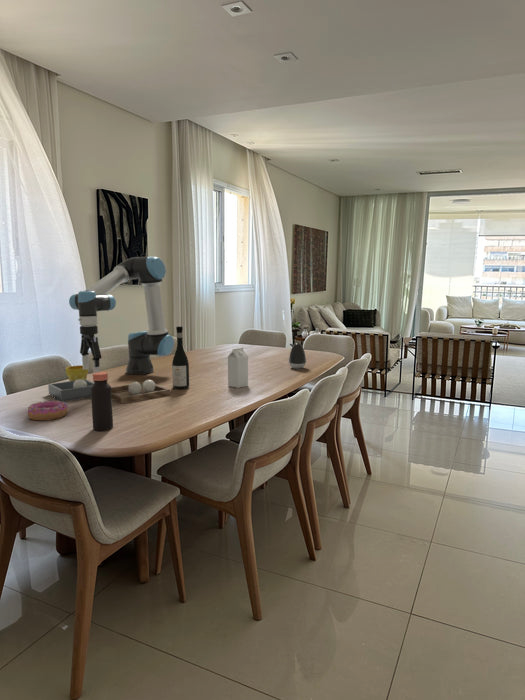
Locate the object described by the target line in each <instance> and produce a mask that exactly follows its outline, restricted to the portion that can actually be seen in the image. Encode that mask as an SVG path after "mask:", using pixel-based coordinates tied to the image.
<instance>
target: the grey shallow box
mask: <svg viewBox="0 0 525 700" xmlns="http://www.w3.org/2000/svg"><path fill="white" fill-rule="evenodd" d="M82 380H84V381H85V382H86V383H87V386H86V387H79V388H73V384H74V382H75V381H76V380H75V381H69V380H68V381H62V382H60V381H59V382H53V383H48V384H47V385H48V386H47V387H48V395H49V394H50V395H51V397H52V396H53V397H52V398H54V397H55V398H54V399H56V400H57V399H58V400H57V401H63V402H69V401H75V400H81V399H82V398H83V399H88V397H89V398H91V387H92V386H93V385H94V381H91V380H89V379H82ZM50 395H49V396H50Z"/></svg>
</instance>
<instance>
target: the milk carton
mask: <svg viewBox="0 0 525 700" xmlns="http://www.w3.org/2000/svg"><path fill="white" fill-rule="evenodd" d="M231 350H232V351H231V352H230V353H229V354H228V355H227V386H228V387H232V388H237V389H239V388H243V387H244V388H245V387H248V386H249V356H248V354H247V353H246V352H245V350H244V347H237V348H232V349H231Z"/></svg>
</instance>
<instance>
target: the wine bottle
mask: <svg viewBox="0 0 525 700" xmlns="http://www.w3.org/2000/svg"><path fill="white" fill-rule="evenodd" d="M175 330H176V349H175V353H174V356H173V359H172V363H171V371H172V372H171V373H172V374H171V375H172V377H171V378H172V387H173V388H174V389H177V390H183V389H184V390H186V389H188V388H189V387H190V365H189V359H188V356H187V354H186V352H185V349H184V342H183V340H184V339H183V331H184V329H183V326H176V327H175Z"/></svg>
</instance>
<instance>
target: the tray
mask: <svg viewBox="0 0 525 700" xmlns="http://www.w3.org/2000/svg"><path fill="white" fill-rule="evenodd" d="M139 383H140V384H141V386H142V385H143V382H139ZM129 385H130V384H125V385H119V386H111V395H112V401H115V402H117V403H119V404H128V403H133V402H138V401H143V400H144V401H146V400H150V399H155V398H160V397H166V396H171V389H170V388H166V387H164V386H160V385H158V384H155V389H154V391H152V392H144V393H139V394H137V395H133V394H131V395H128V396H121V395H119V394H116V393H119V392H121V391H122V392H127V391H126V390H128V387H129ZM128 391H129V390H128ZM122 392H121V393H122Z"/></svg>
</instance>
